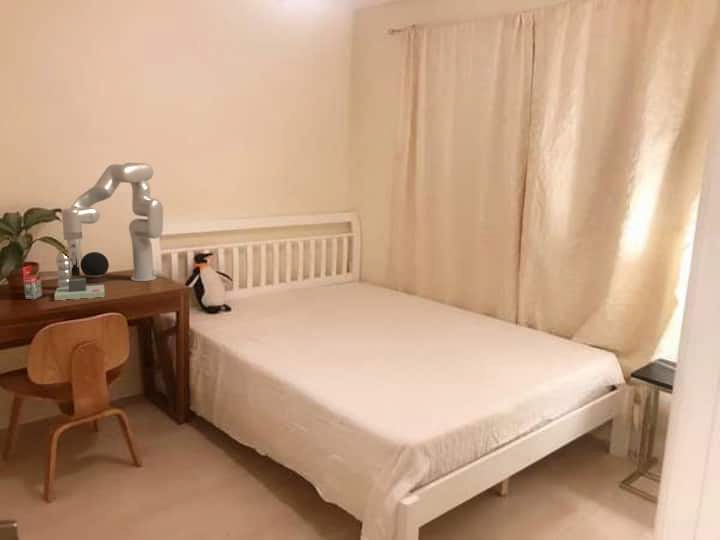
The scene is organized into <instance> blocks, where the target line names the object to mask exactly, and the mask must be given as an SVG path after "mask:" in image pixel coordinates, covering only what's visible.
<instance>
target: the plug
mask: <svg viewBox="0 0 720 540" xmlns="http://www.w3.org/2000/svg"><path fill="white" fill-rule="evenodd" d="M68 286H69V292H76V291H86V286H87V283H86V277H82V278H81V277H80V278H79V277H77V278H72V279H69V280H68Z"/></svg>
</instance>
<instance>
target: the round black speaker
mask: <svg viewBox="0 0 720 540" xmlns="http://www.w3.org/2000/svg"><path fill="white" fill-rule="evenodd" d="M109 264H110V262H109V260H108V258H107V257H106V256H105V255H104V254H103V253H101V252H97V251H92V252H91V251H90V252H88V253H86V254H85V255H83V256H82V260H81V261H80V265H79V268H80V271H81V272H82V273H83V274H84V275H85V276H86V277H85V278H86V284H101V283H100V282H102V283H105V281H106V282H108V281H109V279H108V277H107V275H106V273H107V272H108V270H109V267H110V265H109ZM105 275H106V276H105ZM107 280H108V281H107Z"/></svg>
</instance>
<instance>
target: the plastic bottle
mask: <svg viewBox="0 0 720 540" xmlns="http://www.w3.org/2000/svg"><path fill="white" fill-rule="evenodd" d="M64 248H65V249H66V250H67V251H68V248H67V247H65V246H64ZM57 252H58V253H57V255H56V257H55V262H56V266H57V272H58V273H57V277H58V280H57V286H58V288H64V287H69V286H68V280H69V279H73V278H72V271H71V262H70V261H69V258H68V257H67V256H65V255H64V254H63V253H62V252H61V251H60V250H59V249H58V248H57Z"/></svg>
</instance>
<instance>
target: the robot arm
mask: <svg viewBox="0 0 720 540" xmlns="http://www.w3.org/2000/svg"><path fill="white" fill-rule="evenodd" d="M153 175H154V169H153V167H152V166H151V165H150V164H148V163H144V162H143V163H142V162H126V163H124V164H118V163H117V164H110V165H109V166H107V168H106V169H105V170H104V172H103V173H102V174H101V176H100V177H99V178H98V180H97V182H96V183H95V184H94V185H93V186H92V187H90V189H89V188H88V190H86V191H85V192H83V193H81V195H80V196H78V197H77V198H76V200H74V203H72V205H71V207H70V208H69V207H68V208H64V209H62V211H61V217H62V218H61V220H62V231H63V232H62V233H63V240H65V241H66V244H67V245H66V246H67V247H66V248H67V254H68V256H69V261H70V265H71V266H70V270H71V277H80V276H81V272H80V271H81V267H80V265H79V262H81V260H82V258H83V254H82V244H81V240H83V229H82V224H88V225H91V224H95V223H97V222H98V221H99V220H100V216H101V214H100V212H99V211H98V209H96V208H94V207H92V206H93V205H95V204H97V203H100V202H101V201H102V202H103V201H105V200H108V199H110V198H111V196H112V195H113V194H114V192H115V191H116V190H117V188H118V187H119V185H120V184H121V183H128V184H130V186H131V189H132V195H131V196H132V197H131V198H132V201H131V202H132V203H131V204H132V205H131V206H132V207H131V208H132V209H131V210H132V212H133V214H134V215H135V216H138V217H147V218H146V219H145V218H135V219H132V220H131V221H130V223H129V225H128V231H129V235H130V239H131V240H130V241H131V245H132V246H131V247H132V248H131V249H132V261H133V262H132V265H133V275H132V276H131V277H130V279H131V281H134V282H148V281H154V280H156V279H157V277H158V276H159V275H161V276H162V275H164V273H163V270H155V269H154V261H153V246H152V242H151V241H152V240H153V239H159V238H160V237H161V236H162V234H163V231H164V230H163V229H164V207H163V204H162V202H161V201H160V200H159V199H157V198H151V187H150V184H149V182H148V181H149V180H151V179H152V178H153Z"/></svg>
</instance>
